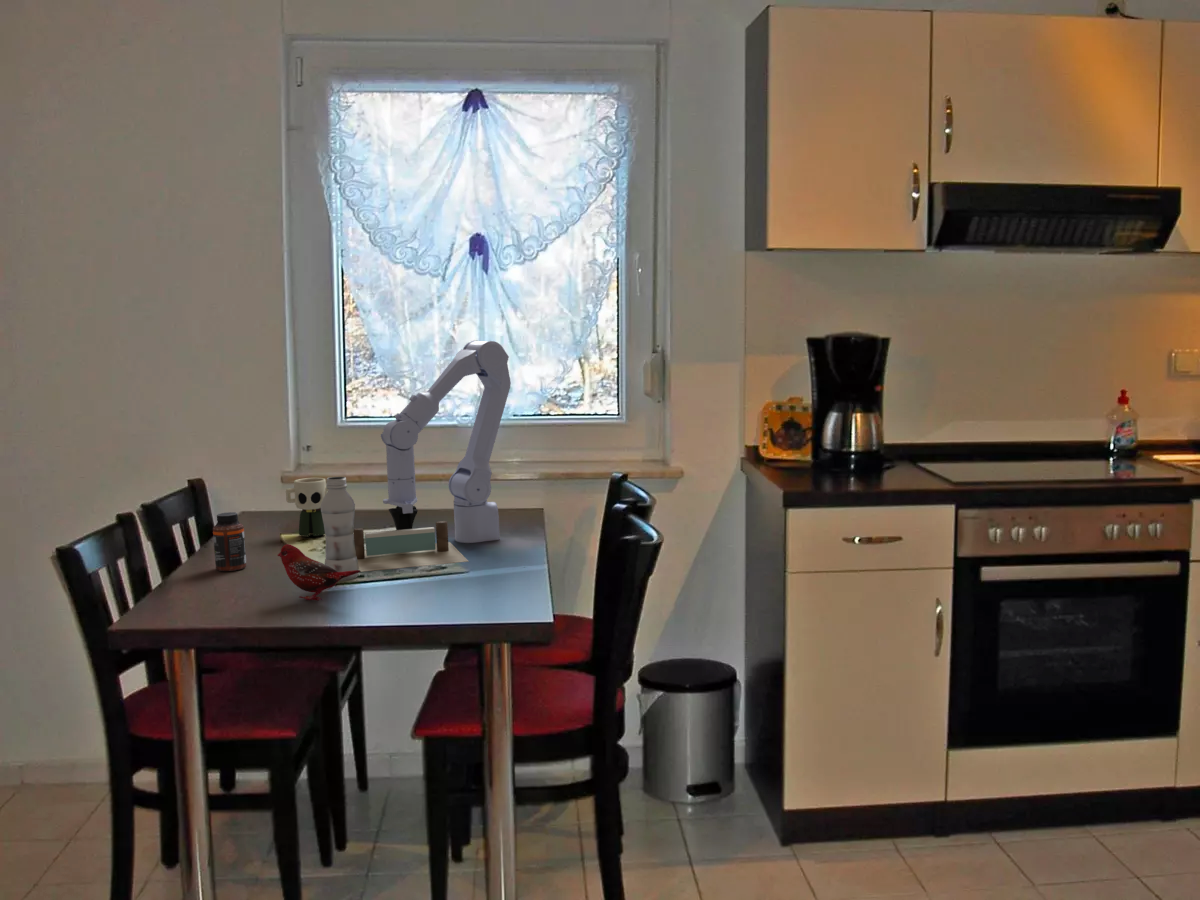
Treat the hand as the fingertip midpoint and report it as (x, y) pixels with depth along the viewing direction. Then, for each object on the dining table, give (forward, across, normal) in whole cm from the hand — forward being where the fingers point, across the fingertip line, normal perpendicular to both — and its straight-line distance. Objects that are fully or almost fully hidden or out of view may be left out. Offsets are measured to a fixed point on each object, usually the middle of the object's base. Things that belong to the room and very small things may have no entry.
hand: (404, 541), depth 241 cm
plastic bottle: (+3, +21, -15) cm, 26 cm away
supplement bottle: (+3, 0, -35) cm, 35 cm away
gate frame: (+2, +8, -1) cm, 8 cm away
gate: (+1, +6, -2) cm, 6 cm away
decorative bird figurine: (+3, +34, -20) cm, 39 cm away
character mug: (+3, -27, -17) cm, 32 cm away
